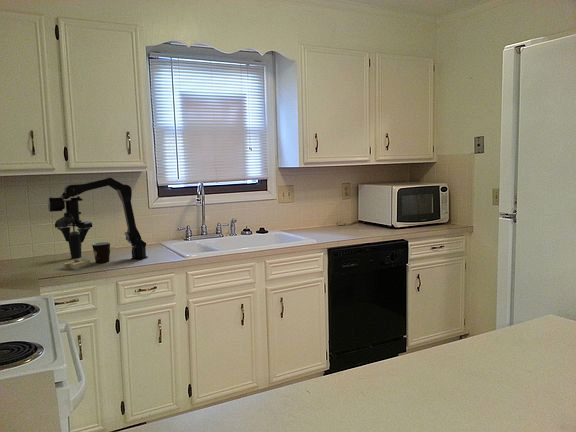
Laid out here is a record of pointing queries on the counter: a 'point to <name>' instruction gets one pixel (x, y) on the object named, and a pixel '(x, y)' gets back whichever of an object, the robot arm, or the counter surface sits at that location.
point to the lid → (76, 264)
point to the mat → (77, 269)
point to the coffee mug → (101, 252)
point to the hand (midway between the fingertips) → (74, 242)
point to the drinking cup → (75, 244)
